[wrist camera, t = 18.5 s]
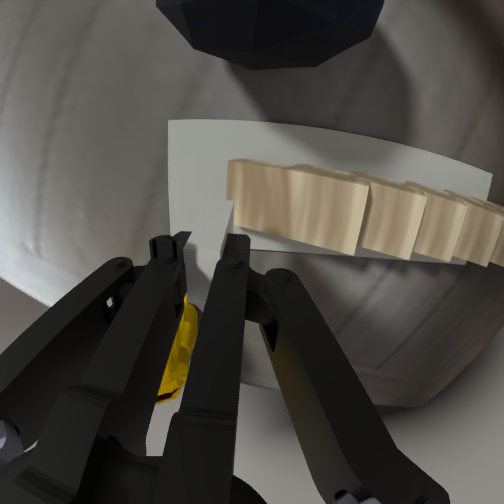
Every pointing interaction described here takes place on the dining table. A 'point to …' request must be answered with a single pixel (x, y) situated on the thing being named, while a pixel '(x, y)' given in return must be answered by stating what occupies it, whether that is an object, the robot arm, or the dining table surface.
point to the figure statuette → (179, 355)
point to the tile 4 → (474, 230)
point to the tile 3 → (434, 221)
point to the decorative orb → (273, 29)
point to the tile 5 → (500, 254)
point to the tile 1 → (297, 203)
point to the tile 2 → (387, 215)
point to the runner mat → (290, 153)
